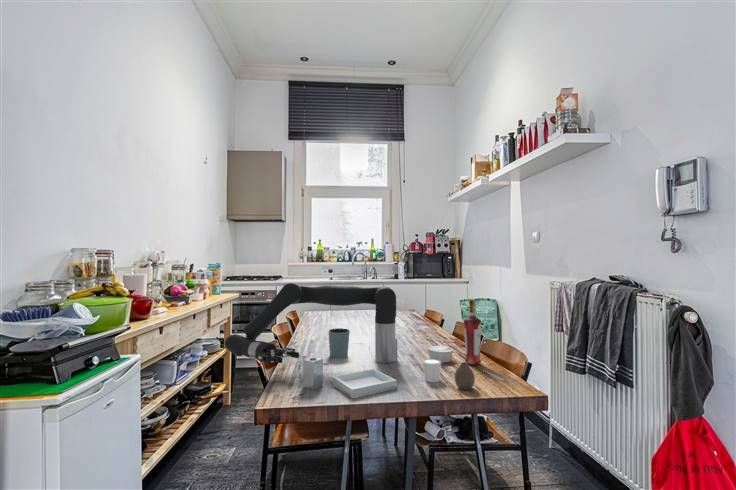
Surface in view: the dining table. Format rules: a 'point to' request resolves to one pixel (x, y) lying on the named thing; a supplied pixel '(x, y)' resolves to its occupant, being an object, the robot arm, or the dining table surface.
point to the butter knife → (494, 375)
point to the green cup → (338, 342)
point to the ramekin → (440, 353)
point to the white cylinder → (432, 370)
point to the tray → (363, 383)
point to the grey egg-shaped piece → (464, 377)
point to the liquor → (472, 335)
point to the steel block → (312, 373)
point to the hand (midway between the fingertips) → (290, 357)
